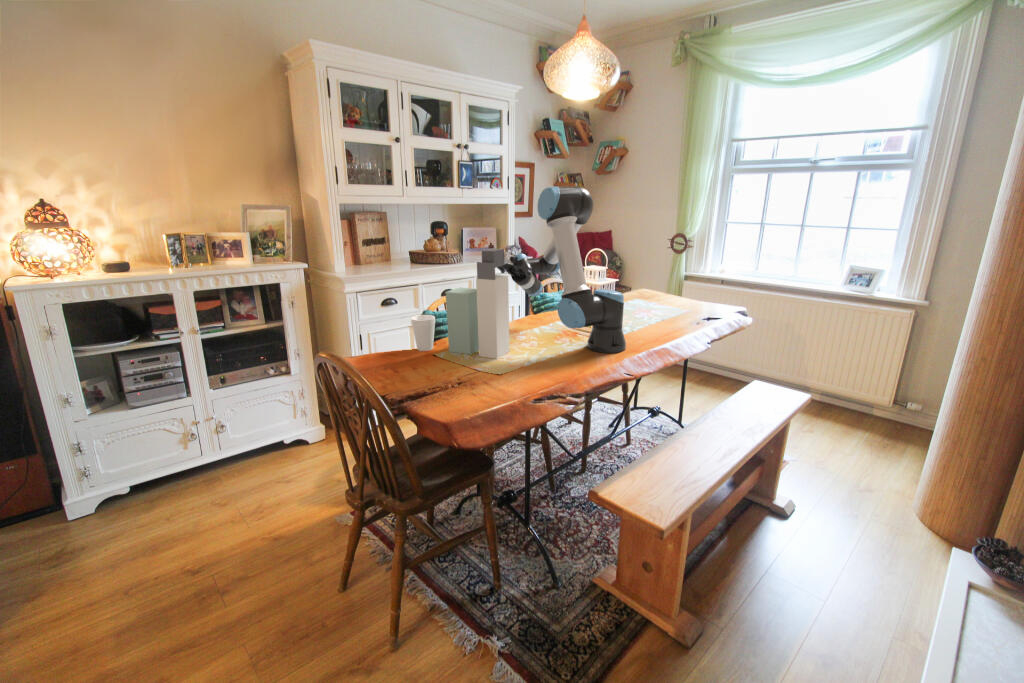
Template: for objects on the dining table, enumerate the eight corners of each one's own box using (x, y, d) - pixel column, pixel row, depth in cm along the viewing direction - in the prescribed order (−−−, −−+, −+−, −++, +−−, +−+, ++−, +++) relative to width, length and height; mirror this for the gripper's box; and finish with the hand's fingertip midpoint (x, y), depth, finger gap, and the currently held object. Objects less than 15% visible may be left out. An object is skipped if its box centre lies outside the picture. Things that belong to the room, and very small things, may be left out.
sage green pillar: (483, 347, 192) (481, 289, 185) (470, 354, 183) (467, 294, 176) (462, 344, 196) (460, 287, 189) (449, 351, 188) (445, 292, 181)
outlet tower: (509, 351, 187) (507, 259, 176) (497, 359, 178) (494, 263, 168) (491, 348, 190) (489, 259, 180) (479, 356, 182) (475, 262, 171)
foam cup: (412, 346, 195) (409, 315, 191) (434, 344, 198) (432, 314, 194) (415, 353, 186) (412, 321, 182) (438, 350, 189) (436, 319, 185)
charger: (516, 261, 186) (516, 246, 184) (494, 268, 170) (493, 251, 169) (505, 261, 188) (505, 246, 186) (482, 267, 173) (481, 250, 171)
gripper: (505, 267, 203) (480, 244, 182) (544, 269, 195) (522, 245, 174) (502, 283, 201) (476, 262, 181) (540, 286, 193) (518, 264, 173)
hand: (499, 254), depth 178 cm, fingers closed on charger, 5 cm apart
